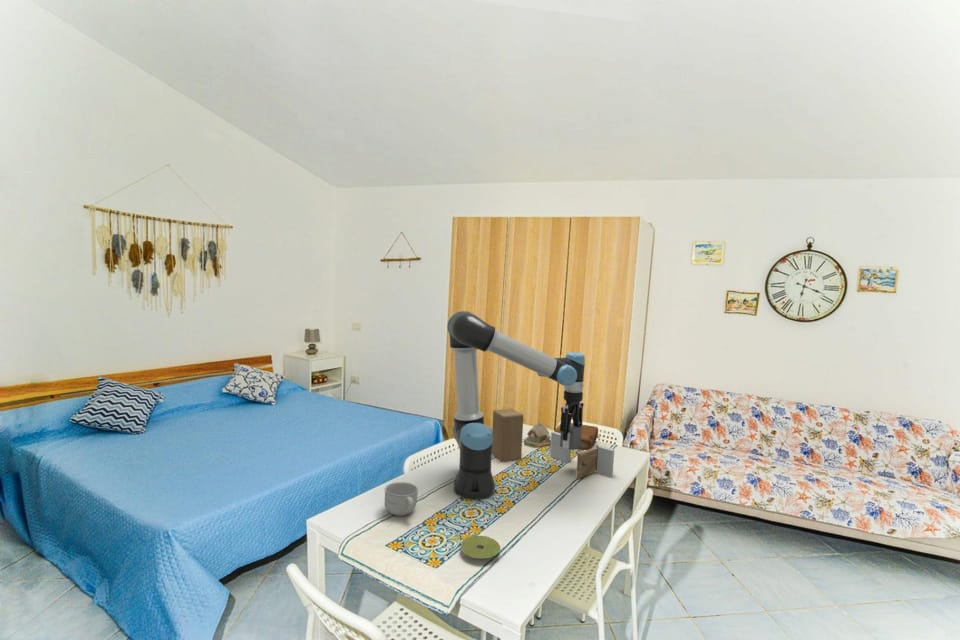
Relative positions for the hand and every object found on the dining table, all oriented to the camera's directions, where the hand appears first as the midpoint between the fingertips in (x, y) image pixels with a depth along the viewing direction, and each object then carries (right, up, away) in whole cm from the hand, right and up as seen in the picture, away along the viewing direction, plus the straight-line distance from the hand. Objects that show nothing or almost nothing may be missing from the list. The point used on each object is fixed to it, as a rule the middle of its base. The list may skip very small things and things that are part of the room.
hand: (570, 445), depth 189 cm
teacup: (-63, -12, -39) cm, 75 cm away
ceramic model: (-9, -8, +32) cm, 34 cm away
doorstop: (0, 0, 0) cm, 0 cm away
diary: (+10, -9, +38) cm, 40 cm away
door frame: (+5, -10, +6) cm, 13 cm away
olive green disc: (-37, -14, -59) cm, 71 cm away
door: (+7, -11, -3) cm, 13 cm away
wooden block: (-26, -9, +13) cm, 30 cm away
